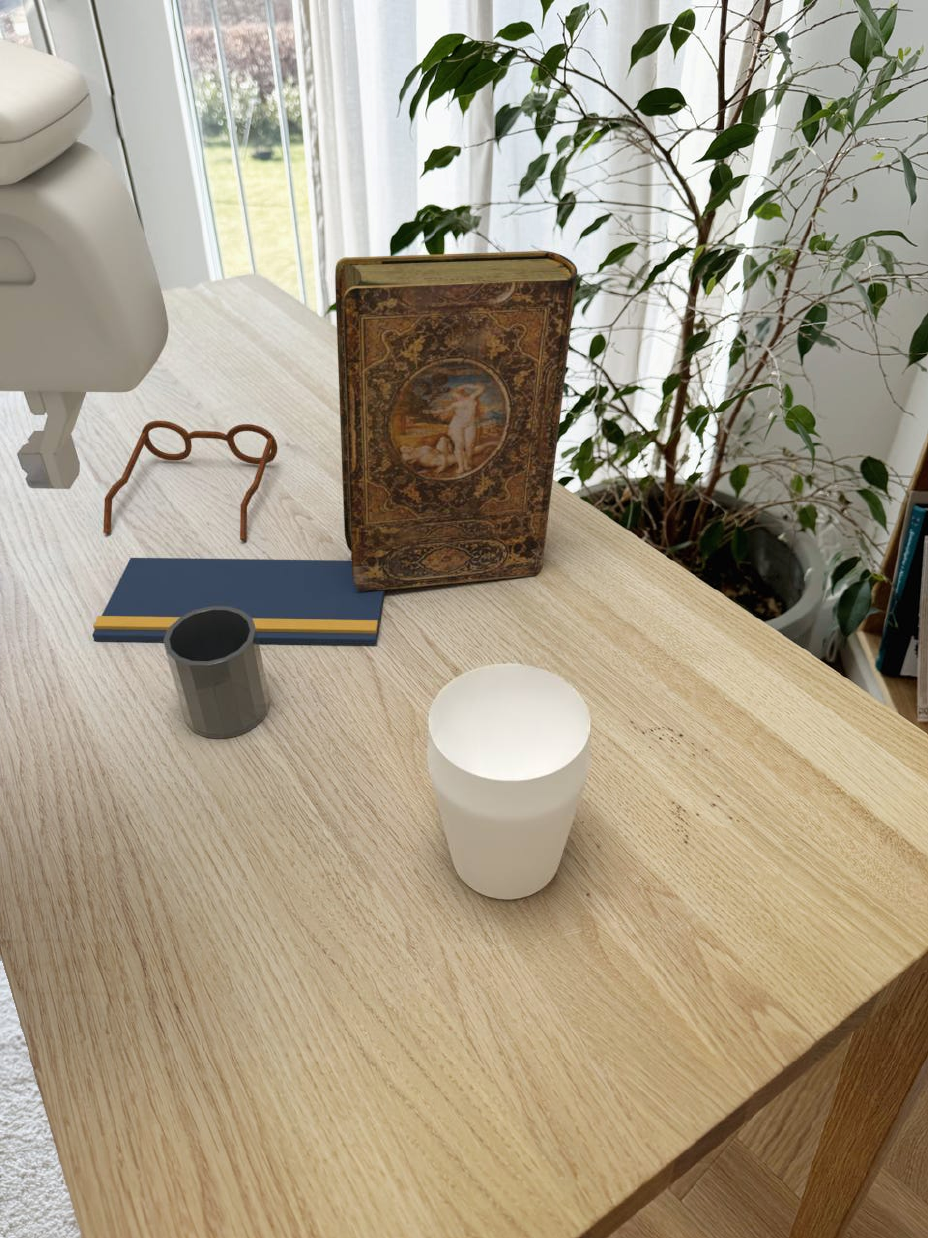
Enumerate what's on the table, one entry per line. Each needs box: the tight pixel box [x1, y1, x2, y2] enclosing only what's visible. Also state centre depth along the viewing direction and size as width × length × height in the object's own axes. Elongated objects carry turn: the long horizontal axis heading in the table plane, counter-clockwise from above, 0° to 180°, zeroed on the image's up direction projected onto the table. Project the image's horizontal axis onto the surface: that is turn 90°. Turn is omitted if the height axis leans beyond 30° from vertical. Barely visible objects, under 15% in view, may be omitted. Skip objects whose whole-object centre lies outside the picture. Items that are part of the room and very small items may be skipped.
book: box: [334, 250, 578, 591], centre depth 74 cm, size 16×6×25 cm, turn 102°
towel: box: [91, 557, 386, 647], centre depth 78 cm, size 22×10×1 cm, turn 88°
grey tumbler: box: [163, 606, 271, 740], centre depth 67 cm, size 6×6×7 cm
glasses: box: [102, 420, 278, 542], centre depth 89 cm, size 13×13×5 cm
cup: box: [426, 663, 591, 900], centre depth 56 cm, size 9×9×12 cm
